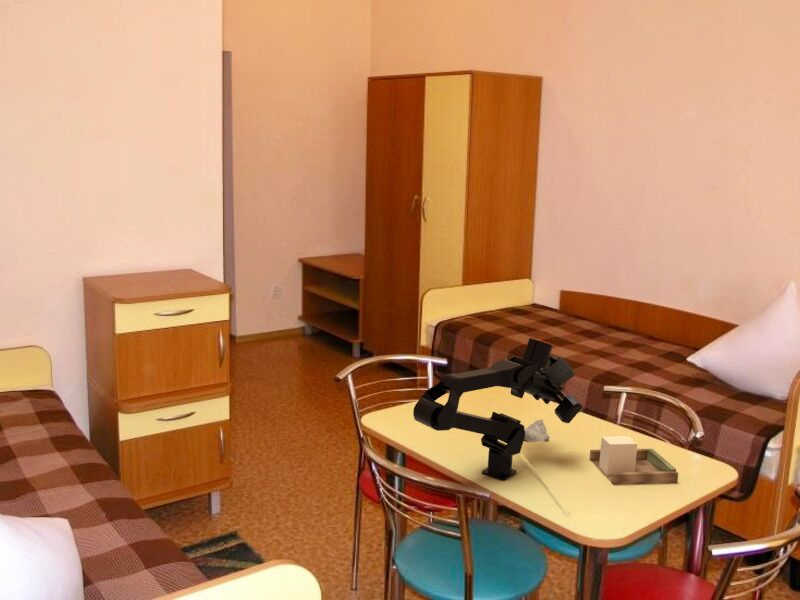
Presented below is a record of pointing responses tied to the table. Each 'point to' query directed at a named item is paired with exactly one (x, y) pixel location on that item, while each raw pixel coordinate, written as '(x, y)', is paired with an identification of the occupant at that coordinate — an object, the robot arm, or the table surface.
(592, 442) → the table surface
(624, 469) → the cream block
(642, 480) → the tray
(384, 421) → the table surface
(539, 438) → the stone
